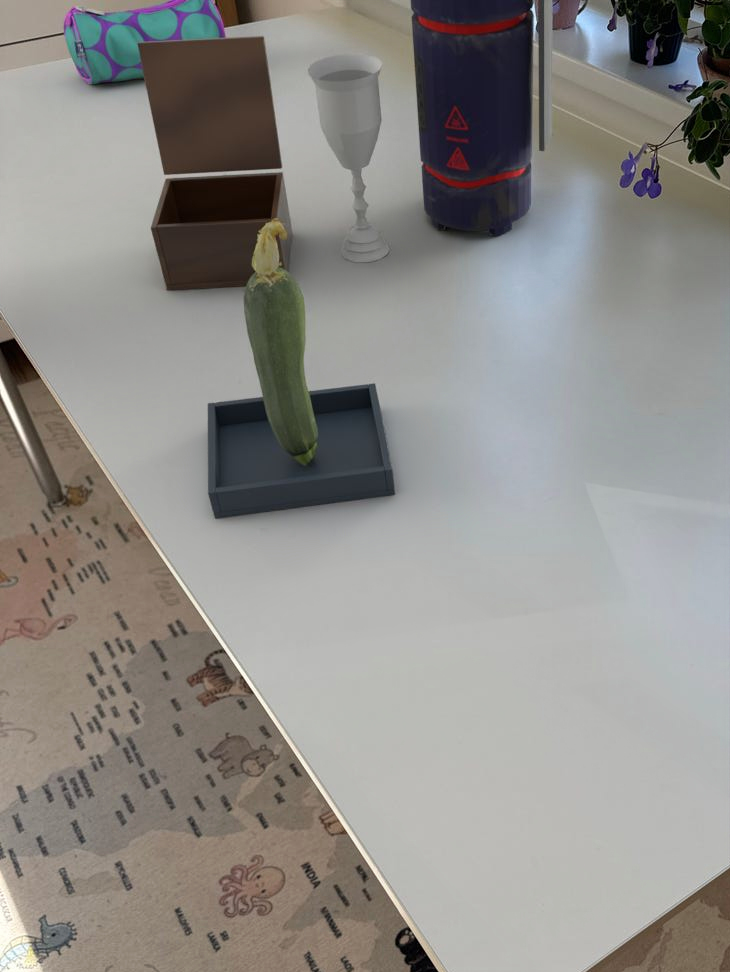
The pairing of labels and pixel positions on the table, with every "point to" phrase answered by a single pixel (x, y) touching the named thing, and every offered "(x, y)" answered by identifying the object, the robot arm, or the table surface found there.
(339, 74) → the chalice
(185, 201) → the chest
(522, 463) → the table surface
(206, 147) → the lid
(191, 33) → the pencil case
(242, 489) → the tray
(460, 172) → the navy canister
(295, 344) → the vegetable
